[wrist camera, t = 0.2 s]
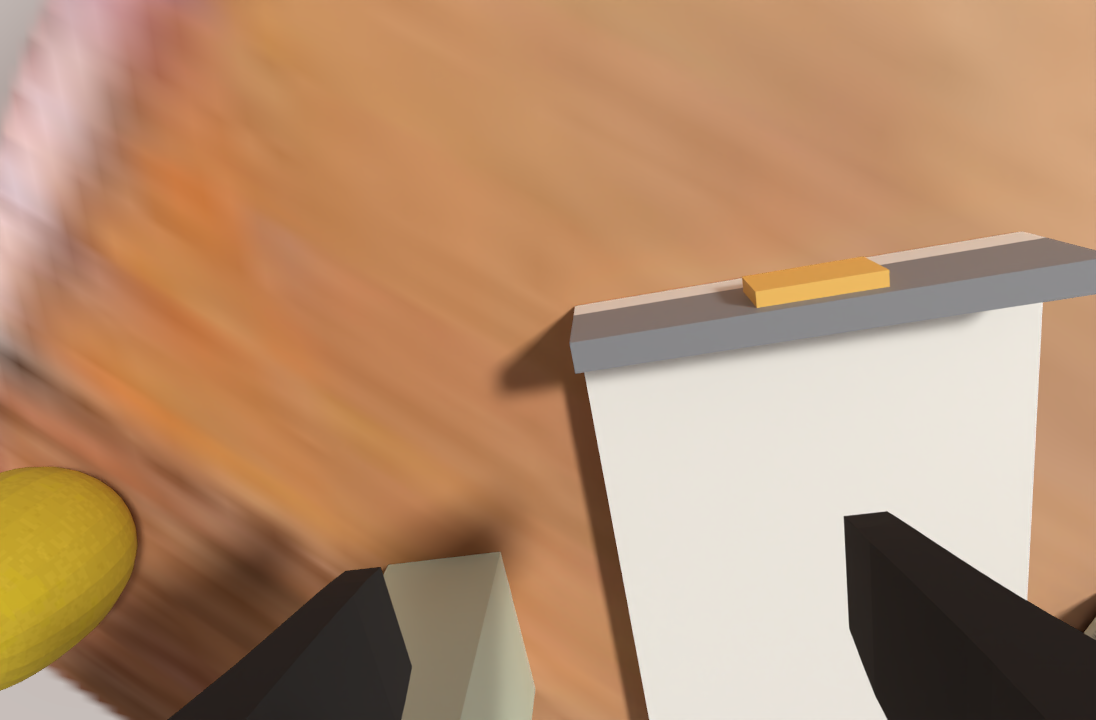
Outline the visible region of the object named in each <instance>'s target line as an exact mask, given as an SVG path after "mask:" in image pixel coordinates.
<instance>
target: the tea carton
mask: <svg viewBox="0 0 1096 720" xmlns="http://www.w3.org/2000/svg"><path fill="white" fill-rule="evenodd" d="M383 576H384V579H385V582H386V585H387V589H388V592H389V595H390V598H391V601H392V604H393V608H394V611H395V614H396V617H397V620H398V623H399V627H400V630H401V633H402V636H403V639H404V642H405V646H406V649H407V652H408V655H409V658H410V661H411V664H412V671H411V676H410V681H409V686H408V691H407V696H406V701H405V706H404V710H403V714H402V719H401V720H532V712H533V704H534V695H535V685H534V681H533V677H532V673H531V670H530V666H529V662H528V658H527V654H526V650H525V646H524V642H523V638H522V634H521V630H520V626H519V623H518V619H517V615H516V611H515V607H514V603H513V599H512V595H511V591H510V587H509V583H508V579H507V576H506V572H505V568H504V564H503V560H502V556H501V552H494V553H485V554H476V555H468V556H459V557H451V558H442V559H434V560H425V561H417V562H408V563H399V564H391V565H388V566H387V568H386V571H385V573H384V575H383Z"/></svg>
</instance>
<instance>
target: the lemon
mask: <svg viewBox="0 0 1096 720" xmlns="http://www.w3.org/2000/svg"><path fill="white" fill-rule="evenodd" d="M136 551H137V535H136V527H135V524H134V521H133V519H132V516H131V514H130V511H129V509H128V507H127V506H126V504H125V503H124V501H123V500H122V498H121V497H120V496H119V495H118V494H117V493H116V492H115V491H114V490H113V489H112V488H110V487H109V486H107V485H106V484H104V483H103V482H101V481H100V480H98V479H96V478H94V477H91V476H89V475H87V474H84V473H82V472H79V471H75V470H70V469H65V468H59V467H25V468H19V469H13V470H9V471H5V472H2V473H0V691H1V690H3V689H6V688H8V687H10V686H12V685H15V684H17V683H19V682H21V681H23V680H25V679H27V678H29V677H30V676H32V675H34V674H36V673H37V672H39V671H41V670H42V669H44V668H45V667H47V666H48V665H50V664H51V663H53V662H54V661H56V660H57V659H58V658H60V657H61V656H62V655H64V654H65V653H66V652H67V651H69V650H70V649H71V648H72V647H74V646H75V645H76V644H77V643H78V642H80V641H81V640H82V639H83V638H84V637H85V636H87V635H88V634H89V633H90V632H91V631H92V630H93V629H94V628H95V627H96V626H97V625H98V624H99V623H100V622H101V621H102V620H103V619H104V617H105V616H106V615H107V614H108V612H109V611H110V610H111V608H112V607H113V606H114V604H115V603H116V601H117V600H118V598H119V596H120V594H121V593H122V591H123V589H124V588H125V586H126V584H127V582H128V580H129V579H130V576H131V573H132V571H133V567H134V562H135V557H136Z"/></svg>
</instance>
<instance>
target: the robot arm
mask: <svg viewBox="0 0 1096 720" xmlns="http://www.w3.org/2000/svg"><path fill="white" fill-rule="evenodd" d="M844 535H845V556H846V577H847V597H848V618H849V630H850V632H851V635H852V638H853V640H854V643H855V646H856V648H857V651H858V654H859V656H860V659H861V662H862V664H863V667H864V669H865V672H866V674H867V677H868V679H869V682H870V684H871V687H872V689H873V692H874V694H875V697H876V699H877V700H878V702H879V704H880V706H881V708H882V710H883V712H884V714H885V716H886V718H887V720H1096V640H1095V639H1093V638H1091V637H1090V636H1088V635H1086V634H1084V633H1082V632H1081V631H1079V630H1077V629H1075V628H1074V627H1072V626H1070V625H1068V624H1066V623H1065V622H1063V621H1061V620H1059V619H1057V618H1056V617H1054V616H1052V615H1050V614H1049V613H1047V612H1045V611H1044V610H1042V609H1040V608H1039V607H1037V606H1035V605H1034V604H1032V603H1030V602H1028V601H1027V600H1025V599H1023V598H1022V597H1020V596H1019V595H1017V594H1015V593H1014V592H1012V591H1010V590H1009V589H1007V588H1005V587H1004V586H1002V585H1001V584H999V583H997V582H996V581H994V580H993V579H991V578H989V577H988V576H986V575H985V574H983V573H982V572H980V571H978V570H977V569H975V568H974V567H972V566H971V565H969V564H968V563H966V562H964V561H963V560H961V559H960V558H958V557H957V556H955V555H954V554H952V553H951V552H949V551H948V550H946V549H945V548H943V547H942V546H940V545H938V544H937V543H935V542H934V541H932V540H931V539H929V538H928V537H926V536H925V535H923V534H922V533H920V532H919V531H917V530H916V529H914V528H913V527H911V526H910V525H908V524H907V523H905V522H904V521H902V520H901V519H899V518H897V517H896V516H894V515H893V514H891V513H889V512H888V511H885V512H876V513H867V514H858V515H849V516H844ZM411 671H412V664H411V661H410V658H409V655H408V652H407V649H406V646H405V642H404V639H403V636H402V633H401V630H400V627H399V623H398V620H397V617H396V614H395V611H394V608H393V604H392V601H391V598H390V595H389V592H388V589H387V585H386V582H385V579H384V576H383V573H382V570H381V567H377V568H368V569H359V570H350V571H345V572H344V573H342V574H341V575H340V576H338V577H337V578H336V579H334V580H333V581H332V582H331V583H329V584H328V585H327V586H326V587H324V588H323V589H322V590H321V591H320V592H319V593H317V594H316V595H315V596H314V597H313V598H312V599H310V600H309V601H308V602H307V603H306V604H305V605H303V606H302V607H301V608H300V609H299V610H298V611H297V612H295V613H294V614H293V615H292V616H291V617H290V618H289V619H288V620H286V621H285V622H284V623H283V624H282V625H281V626H280V627H278V628H277V629H276V630H275V631H274V632H273V633H271V634H270V635H269V636H268V637H267V638H266V639H265V640H263V641H262V642H261V643H260V644H259V645H258V646H257V647H255V648H254V649H253V650H252V651H251V652H250V653H248V654H247V655H246V656H245V657H244V658H243V659H242V660H240V661H239V662H238V663H237V664H236V665H234V666H233V667H232V668H231V669H230V670H228V671H227V672H226V673H225V674H223V675H222V676H221V677H220V678H219V679H217V680H216V681H215V682H214V683H212V684H211V685H210V686H209V687H207V688H206V689H205V690H204V691H203V692H201V693H200V694H199V695H198V696H196V697H195V698H194V699H193V700H192V701H190V702H189V703H188V704H187V705H185V706H184V707H183V708H182V709H180V710H179V711H178V712H177V713H176V714H174V715H173V716H172V717H170V718H169V719H168V720H401V719H402V714H403V710H404V706H405V701H406V696H407V691H408V686H409V681H410V676H411Z"/></svg>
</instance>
